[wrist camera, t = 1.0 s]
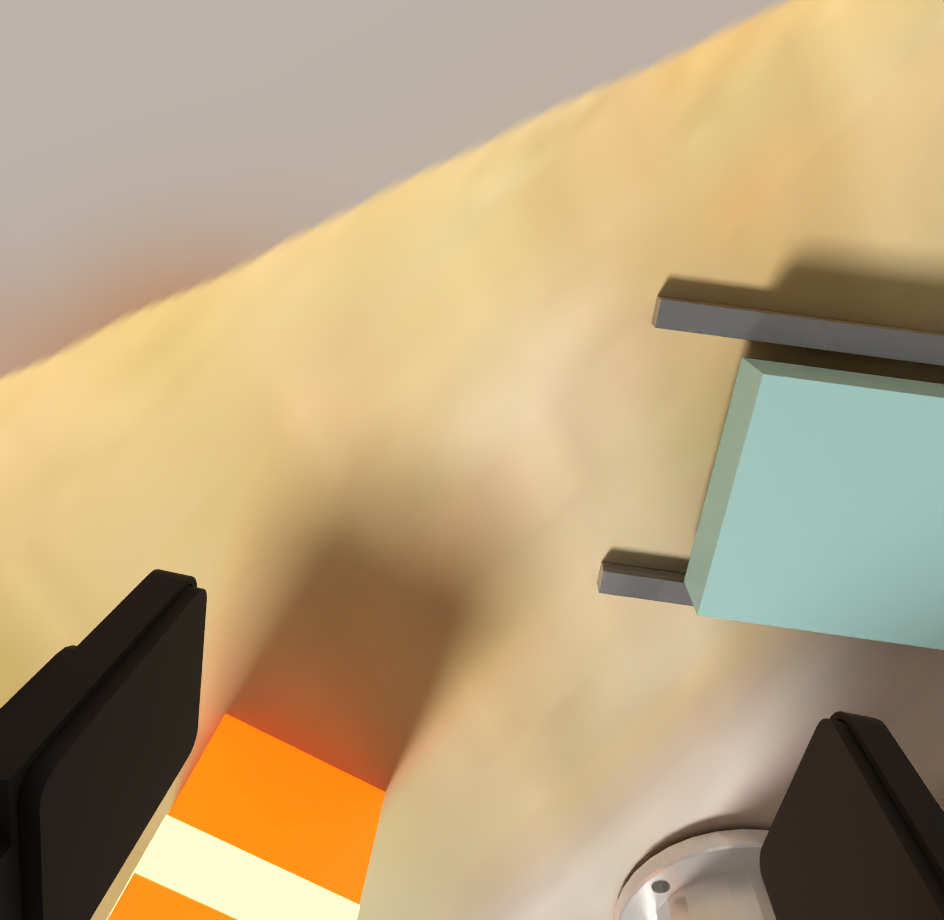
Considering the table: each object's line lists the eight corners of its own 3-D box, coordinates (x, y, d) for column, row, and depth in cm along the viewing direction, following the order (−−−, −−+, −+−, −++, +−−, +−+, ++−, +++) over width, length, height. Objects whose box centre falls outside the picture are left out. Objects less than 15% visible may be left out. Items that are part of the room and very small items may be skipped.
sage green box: (943, 599, 29) (1004, 658, 26) (676, 561, 30) (697, 615, 26) (1031, 388, 26) (1114, 421, 23) (730, 348, 26) (763, 374, 23)
